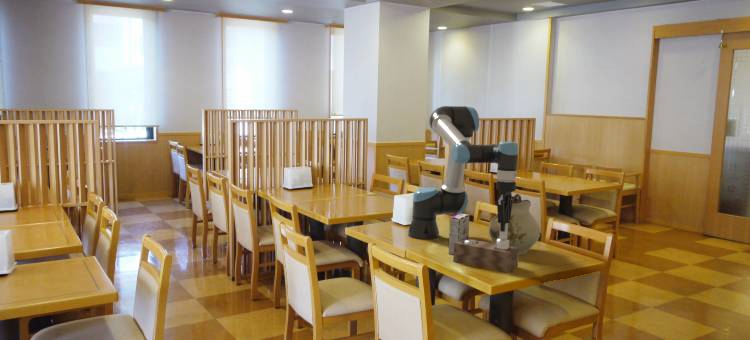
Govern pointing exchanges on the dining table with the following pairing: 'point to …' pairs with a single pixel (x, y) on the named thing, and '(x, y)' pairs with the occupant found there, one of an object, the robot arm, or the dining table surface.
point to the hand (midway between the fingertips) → (503, 238)
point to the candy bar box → (458, 230)
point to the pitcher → (518, 226)
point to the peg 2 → (502, 244)
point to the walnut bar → (486, 255)
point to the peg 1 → (470, 242)
